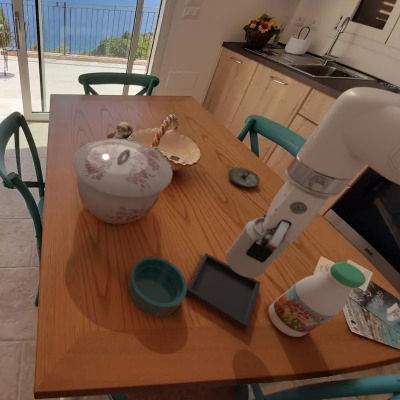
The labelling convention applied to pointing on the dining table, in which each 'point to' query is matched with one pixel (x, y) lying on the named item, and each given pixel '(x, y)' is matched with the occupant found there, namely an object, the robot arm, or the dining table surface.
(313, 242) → the dining table surface
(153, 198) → the chamber pot
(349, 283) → the milk bottle
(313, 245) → the dining table surface
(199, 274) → the tray
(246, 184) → the lid
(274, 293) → the dining table surface
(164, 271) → the bowl
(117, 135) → the skull
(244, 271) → the can
